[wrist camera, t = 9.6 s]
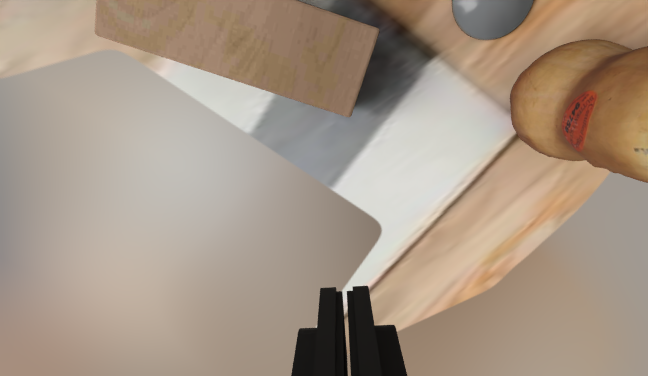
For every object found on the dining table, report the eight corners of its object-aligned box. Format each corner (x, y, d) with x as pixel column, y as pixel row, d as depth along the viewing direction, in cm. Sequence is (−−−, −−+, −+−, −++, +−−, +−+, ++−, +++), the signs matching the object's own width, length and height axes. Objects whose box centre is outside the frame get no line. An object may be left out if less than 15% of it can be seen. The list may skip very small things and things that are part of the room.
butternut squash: (493, 54, 43) (680, 27, 19) (599, 37, 42) (935, -13, 18) (491, 153, 47) (640, 230, 24) (586, 141, 46) (843, 208, 23)
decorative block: (350, 118, 37) (93, 34, 35) (348, 109, 46) (144, 43, 44) (380, 28, 34) (99, -69, 32) (371, 38, 43) (153, -36, 41)
